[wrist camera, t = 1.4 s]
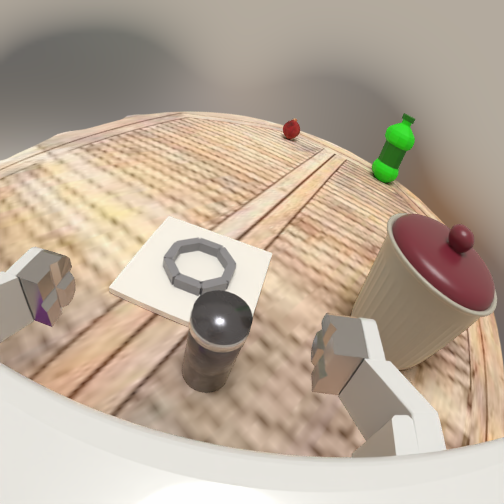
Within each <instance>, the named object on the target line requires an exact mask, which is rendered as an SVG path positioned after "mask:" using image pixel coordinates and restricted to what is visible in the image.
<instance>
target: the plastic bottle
mask: <svg viewBox="0 0 504 504" xmlns="http://www.w3.org/2000/svg"><path fill="white" fill-rule="evenodd" d="M402 118H403V121H402V123H399V124H395V125H392V126H390V127H389V128H388V129H387V131H386V134H385V137H386V143H385V145H384V147H383V149H382V152H381V154H380V156H379V158H378V159H377V160H375V162H373V165H372V170H373V173H374V176H375V177H376V178H377V179H378V180H380V181H382V182H385V183H387V182H392V181H394V180H395V179H396V177H397V176H398V171H399V170H398V168H399V166H400V164H401V161H402V159H403V157H404V155H405V153H406V151H408V150H410V149H411V148H412V146H413V145H414V142H415V138H414V135H413V133H412V130H411V128H410V126H411V124H413V123H414V121H415V119H414V118H413V117H411V116H409V115H407V114H403V117H402Z"/></svg>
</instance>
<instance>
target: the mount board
mask: <svg viewBox="0 0 504 504" xmlns="http://www.w3.org/2000/svg"><path fill="white" fill-rule="evenodd" d="M271 256H272V253H270V252H268V251H265V250H262V249H259V248H257V247H254V246H251V245H248V244H245V243H243V242H240V241H237V240H234V239H232V238H229V237H226V236H223V235H221V234H218V233H215V232H212V231H210V230H207V229H204V228H201V227H198V226H196V225H193V224H190V223H187V222H184V221H182V220H179V219H176V218H173V217H171V216H168V217H167V219H166V220H165V221H164V222H163V223H162V224H161V225H160V227H159V228H158V229H157V230H156V231H155V232H154V233H153V235H152V236H151V237H150V238H149V239H148V240H147V242H146V243H145V244H144V245H143V246H142V247H141V249H140V250H139V251H138V252H137V253H136V255H135V256H134V257H133V258H132V259H131V261H130V262H129V263H128V264H127V266H126V267H125V268H124V269H123V270H122V272H121V273H120V274H119V275H118V277H117V278H116V279H115V280H114V282H113V283H112V284H111V285H110V287H109V292H110V293H112V294H114V295H116V296H118V297H120V298H122V299H124V300H127V301H129V302H131V303H133V304H135V305H138V306H140V307H142V308H144V309H147V310H149V311H151V312H154V313H156V314H158V315H161V316H163V317H165V318H168V319H170V320H173V321H175V322H177V323H180V324H182V325H185V326H187V327H189V320H190V315H191V311H192V309H193V305H194V303H195V301H196V300H197V298H198V297H199V296H201V295H202V294H204V293H206V292H209V291H215V290H221V291H227V292H231V293H233V294H235V295H237V296H239V297H240V298H242V299H243V300H244V301H245V302H246V303H247V304H248V306H249V307H250V309H251V312H252V317H253V313H254V310H255V307H256V304H257V301H258V298H259V294H260V291H261V288H262V285H263V282H264V279H265V275H266V272H267V269H268V266H269V263H270V259H271ZM242 346H243V345H242Z"/></svg>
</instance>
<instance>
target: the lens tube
mask: <svg viewBox="0 0 504 504" xmlns="http://www.w3.org/2000/svg"><path fill="white" fill-rule="evenodd" d="M252 320H253V317H252V312H251V309H250V307H249V306H248V304H247V303H246V302H245V301H244V300H243V299H242V298H240V297H239V296H237V295H235V294H233V293H231V292H227V291H221V290H215V291H209V292H206V293H204V294H202V295H201V296H199V297H198V298H197V300H196V301H195V303H194V305H193V309H192V311H191V315H190V320H189V332H188V338H187V344H186V350H185V356H184V362H183V368H182V374H183V377H184V380H185V381H186V383H187V384H188V385H189V386H190V387H191V388H193V389H194V390H197V391H199V392H205V393H209V392H214V391H217V390H219V389H220V388H221V387H222V386H223V385H224V384H225V382H226V380H227V378H228V376H229V373H230V371H231V369H232V367H233V365H234V362H235V360H236V358H237V356H238V354H239V351H240V349H241V347H242V345H243V344H244V342H245V341H246V339H247V336H248V334H249V332H250V328H251V324H252Z"/></svg>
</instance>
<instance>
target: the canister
mask: <svg viewBox="0 0 504 504" xmlns="http://www.w3.org/2000/svg"><path fill="white" fill-rule="evenodd" d="M473 245H474V235H473V233H472V232H471V231H470V229H469V228H467V227H466V226H464V225H461V224H458V225H454V226H453V227H452V228H451V229H450V228H448V227H447V226H445V225H444V224H442V223H440V222H438V221H436V220H434V219H432V218H429V217H426V216H423V215H419V214H406V213H400V214H395V215H393V216H392V217H391V218H390V219H389V221H388V223H387V236H386V238H385V240H384V242H383V245H382V247H381V249H380V251H379V253H378V255H377V258H376V260H375V262H374V264H373V266H372V268H371V270H370V272H369V274H368V276H367V278H366V280H365V282H364V284H363V287H362V289H361V291H360V293H359V295H358V297H357V299H356V301H355V304H354V306H353V309H352V313H351V317H357V318H367V319H374V320H375V321H376V324H377V328H378V331H379V335H380V339H381V343H382V347H383V351H384V355H385V359H386V361H390V362H391V363H392V364H393V365H394V366H395V367H396V368H397V369H398V370H404V369H408V368H411V367H414V366H416V365H417V364H419V363H421V362H423V361H424V360H426V359H427V358H429V357H430V356H432V355H433V354H435V353H436V352H437V351H439V350H440V349H442V348H443V347H444V346H446V345H447V344H448V343H450V342H451V341H452V340H454V339H455V338H456V337H457V336H459V335H460V334H461V333H462V332H464V331H465V330H466V329H467V328H469V327H470V326H471V325H472V324H473V323H474V322H476V321H477V320H478V319H479V318H480V317H485V316H488V315H490V314H491V313H492V312H493V311H494V310H495V307H496V304H497V296H496V291H495V287H494V282H493V279H492V276H491V274H490V272H489V270H488V268H487V266H486V264H485V263H484V261H483V260H482V259H481V257H480V256H479V255H478V253H477V252H476V251H475V250H474V249H473V248H472V247H473Z"/></svg>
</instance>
